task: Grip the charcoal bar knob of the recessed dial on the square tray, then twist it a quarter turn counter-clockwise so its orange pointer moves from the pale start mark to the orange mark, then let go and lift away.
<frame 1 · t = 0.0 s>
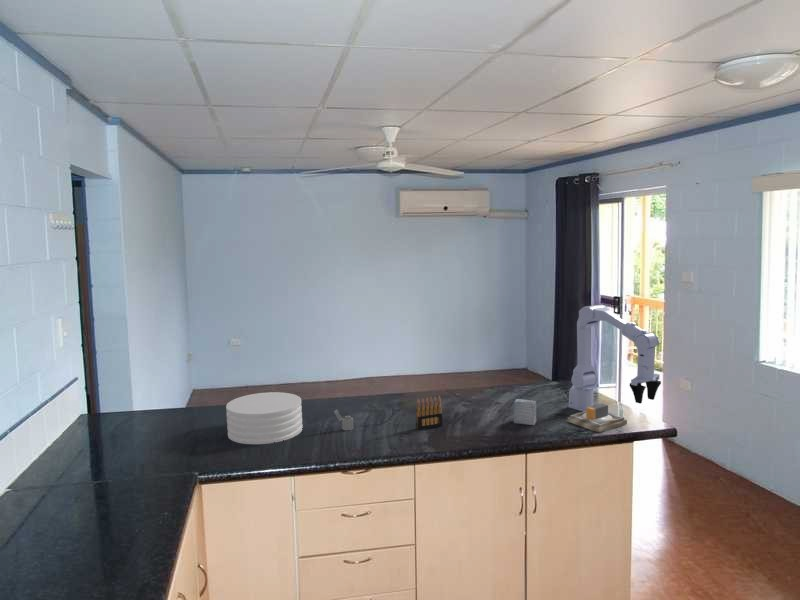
hand: (644, 401, 218), 10 cm above the worktop, tool pointing down, fingers open, 7 cm apart
medicine box: (525, 423, 227), on the worktop
square tray: (597, 422, 225), on the worktop
ammunition clip: (429, 427, 224), on the worktop
lighter: (344, 430, 223), on the worktop
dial: (597, 412, 225), point 4 cm above the worktop, hinge at 0.0°
plate stack: (265, 431, 224), on the worktop
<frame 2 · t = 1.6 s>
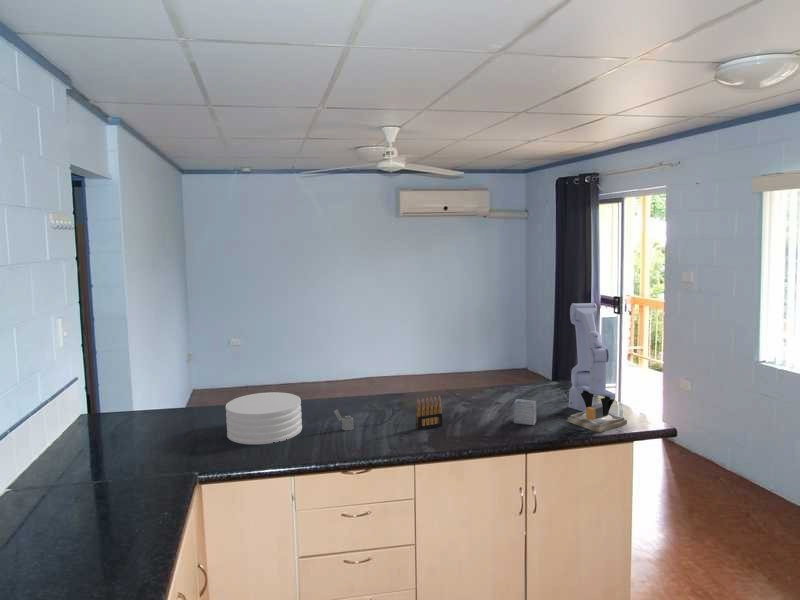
hand: (597, 413, 225), 4 cm above the worktop, tool pointing down, fingers open, 7 cm apart
nothing on the worktop moved.
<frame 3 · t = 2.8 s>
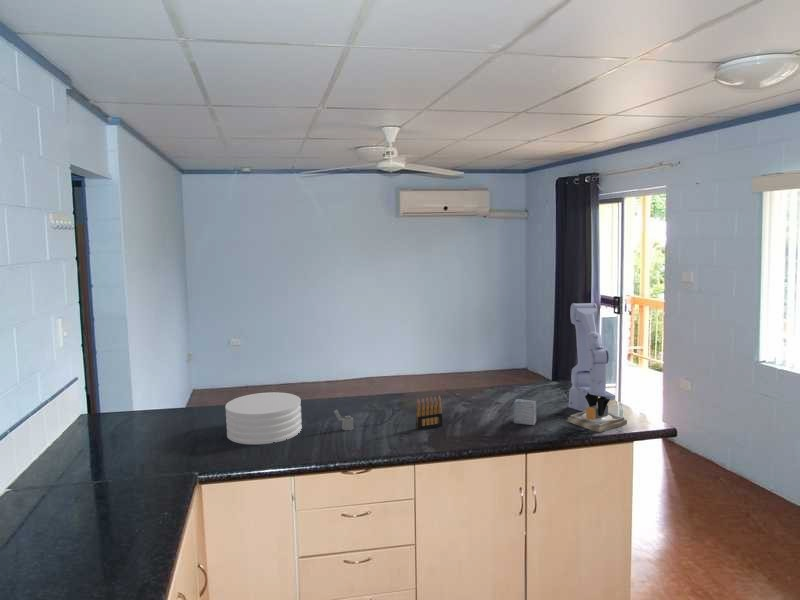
hand: (597, 414, 225), 3 cm above the worktop, tool pointing down, fingers closed on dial, 3 cm apart
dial: (597, 412, 225), point 4 cm above the worktop, hinge at 0.0°, touching gripper
everything else where it was.
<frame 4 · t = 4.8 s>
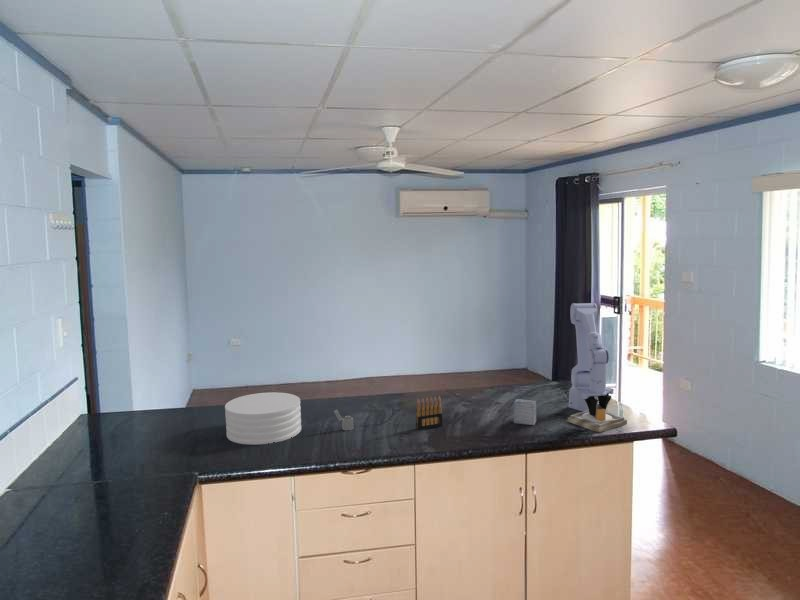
hand: (597, 414, 225), 3 cm above the worktop, tool pointing down, fingers closed on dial, 4 cm apart
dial: (597, 412, 225), point 4 cm above the worktop, hinge at 58.2°, touching gripper
everything else where it was.
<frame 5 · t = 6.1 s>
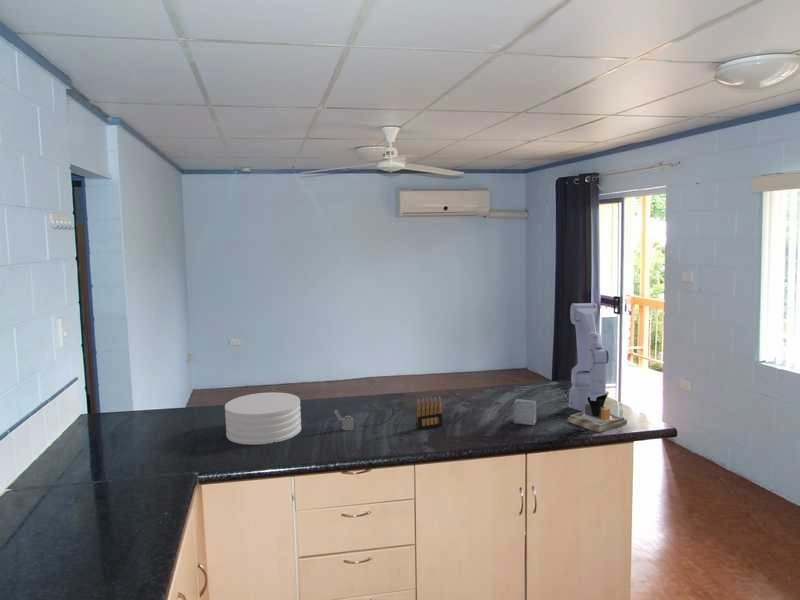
hand: (597, 414, 225), 3 cm above the worktop, tool pointing down, fingers closed on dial, 5 cm apart
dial: (597, 412, 225), point 4 cm above the worktop, hinge at 91.0°, touching gripper
everything else where it was.
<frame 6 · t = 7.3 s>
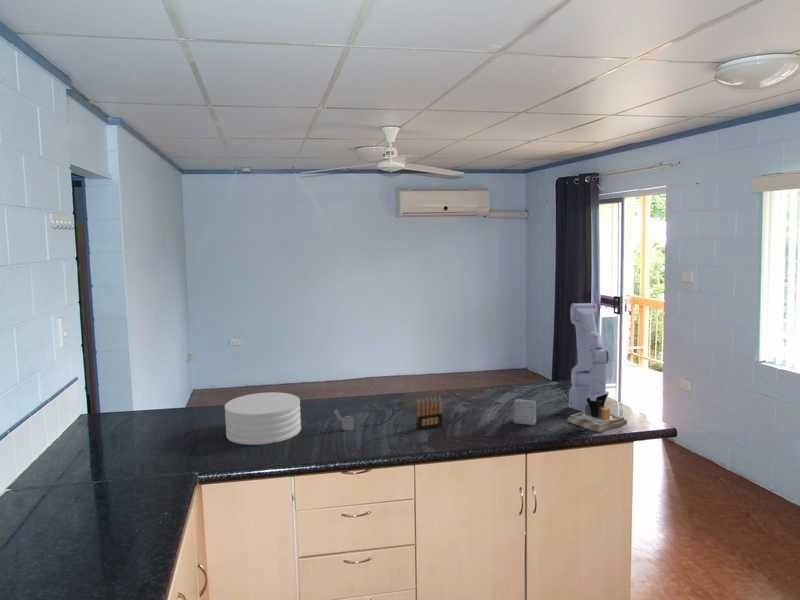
hand: (597, 414, 225), 3 cm above the worktop, tool pointing down, fingers open, 7 cm apart
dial: (597, 412, 225), point 4 cm above the worktop, hinge at 91.9°
everything else where it was.
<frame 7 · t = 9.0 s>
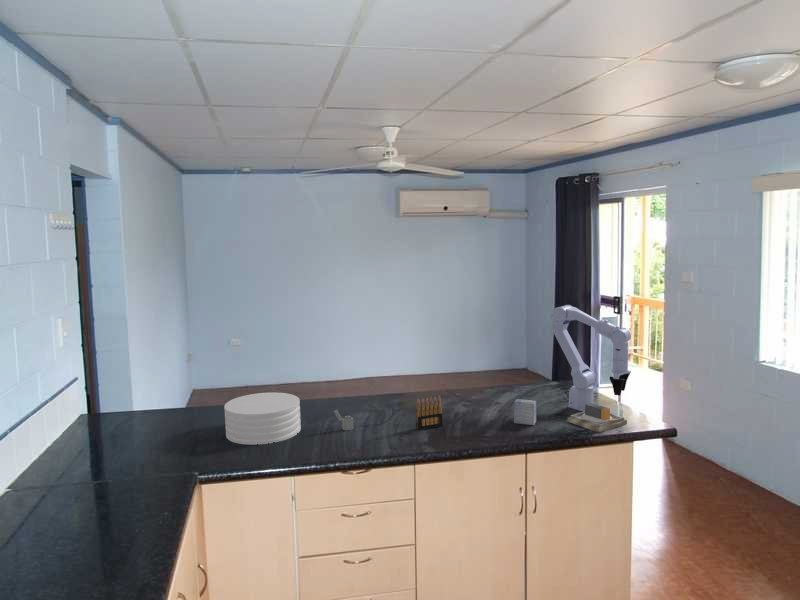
hand: (619, 392, 232), 9 cm above the worktop, tool pointing down, fingers open, 7 cm apart
nothing on the worktop moved.
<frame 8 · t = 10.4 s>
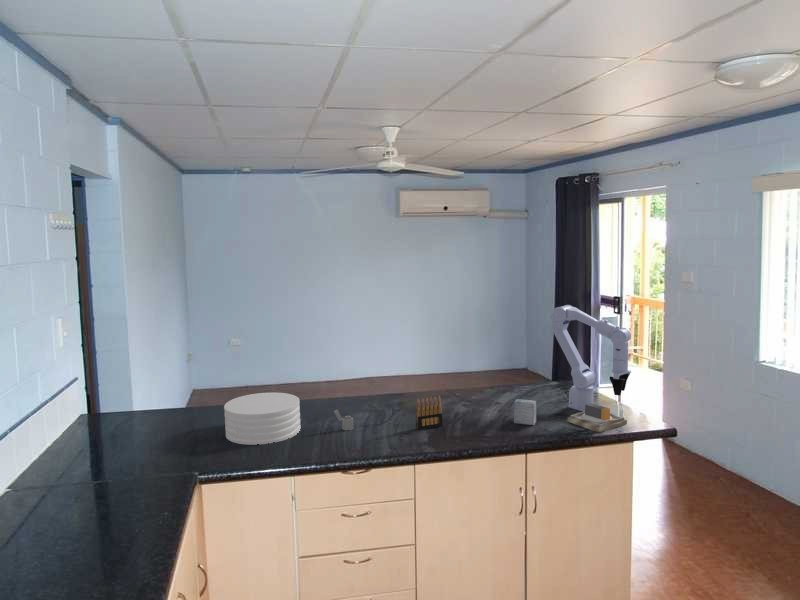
hand: (619, 392, 232), 9 cm above the worktop, tool pointing down, fingers open, 7 cm apart
nothing on the worktop moved.
at the end: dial at +92° (first picture: +0°); the gripper is holding nothing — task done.
